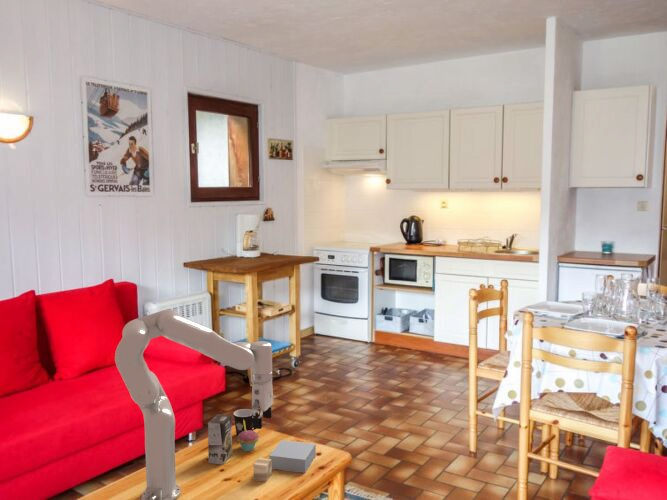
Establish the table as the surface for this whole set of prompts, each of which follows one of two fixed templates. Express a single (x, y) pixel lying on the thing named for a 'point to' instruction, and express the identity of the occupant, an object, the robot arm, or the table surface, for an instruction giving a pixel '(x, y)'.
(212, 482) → the table surface
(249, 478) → the table surface
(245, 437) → the cupcake
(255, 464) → the birch block
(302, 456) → the grey block
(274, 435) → the table surface
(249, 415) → the coffee mug
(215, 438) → the coffee box
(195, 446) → the table surface
